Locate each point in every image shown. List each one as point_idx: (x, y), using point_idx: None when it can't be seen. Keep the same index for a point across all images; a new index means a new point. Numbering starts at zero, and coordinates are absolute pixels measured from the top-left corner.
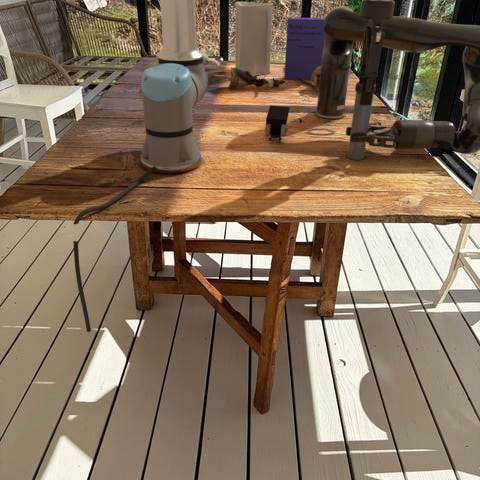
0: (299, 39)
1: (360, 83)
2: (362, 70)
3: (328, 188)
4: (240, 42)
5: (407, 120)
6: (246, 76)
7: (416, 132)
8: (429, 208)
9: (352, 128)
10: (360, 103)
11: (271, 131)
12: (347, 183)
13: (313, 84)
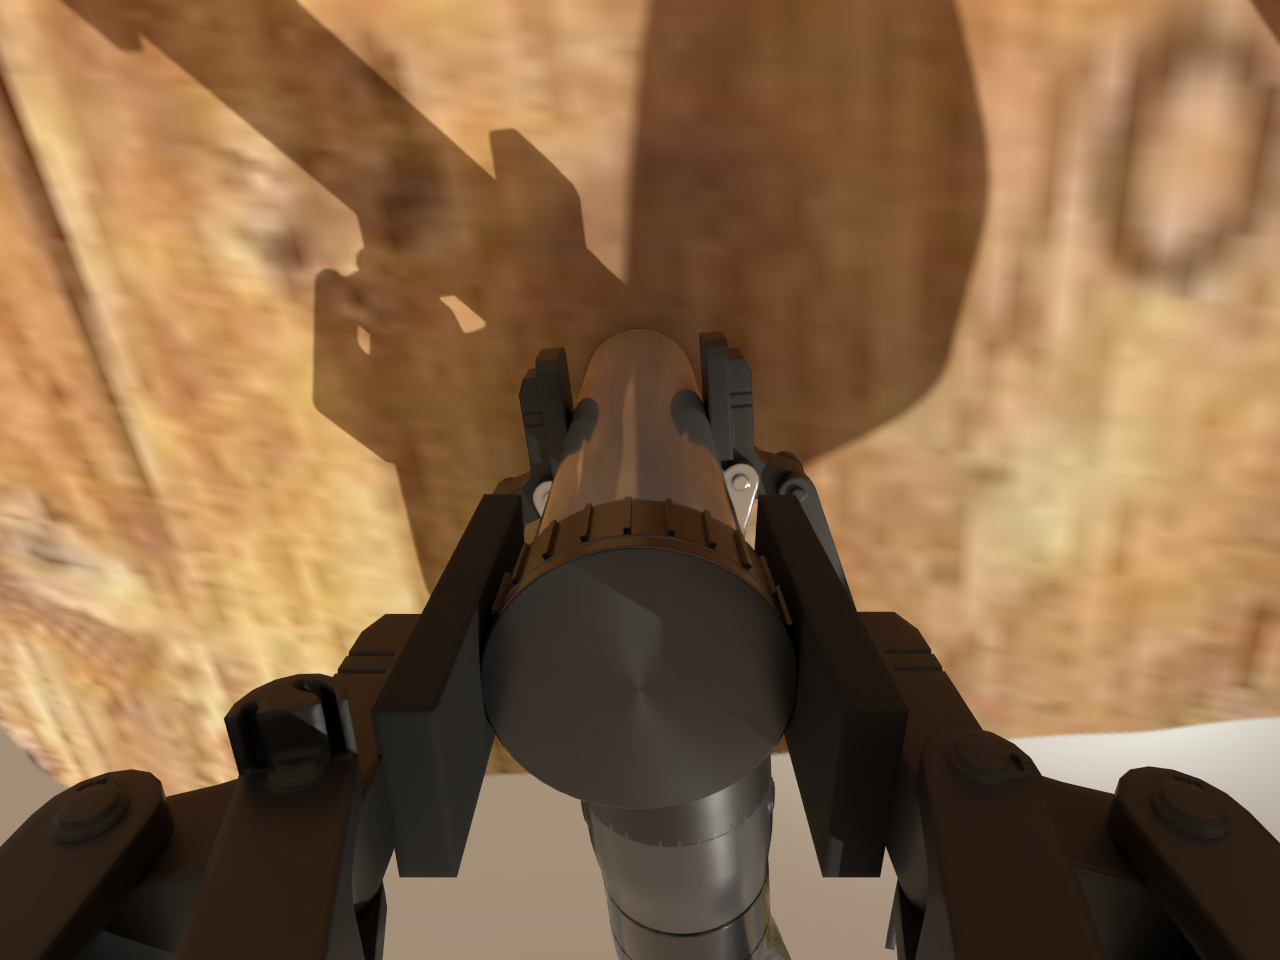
0: None
1: (662, 611)
2: (920, 774)
3: (56, 139)
4: None
5: (682, 807)
6: None
7: (586, 803)
8: (24, 635)
9: (610, 382)
10: (480, 505)
11: None
12: (181, 276)
13: None
